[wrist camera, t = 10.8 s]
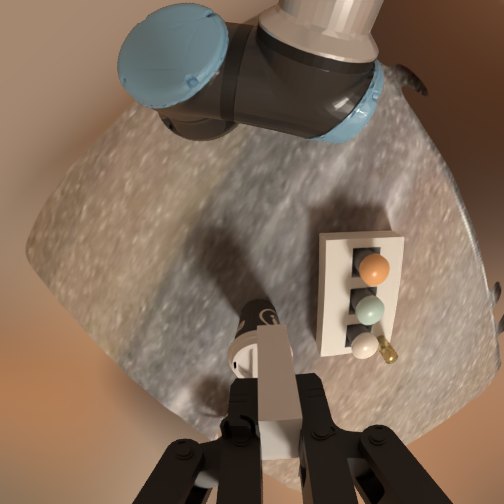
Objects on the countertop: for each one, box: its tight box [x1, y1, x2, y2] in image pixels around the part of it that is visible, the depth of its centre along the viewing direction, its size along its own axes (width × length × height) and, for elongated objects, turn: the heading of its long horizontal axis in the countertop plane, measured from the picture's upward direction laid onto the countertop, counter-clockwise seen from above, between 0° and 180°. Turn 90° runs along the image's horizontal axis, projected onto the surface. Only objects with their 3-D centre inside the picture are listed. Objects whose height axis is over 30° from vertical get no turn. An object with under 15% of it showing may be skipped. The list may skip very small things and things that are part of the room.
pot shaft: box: [377, 335, 398, 364], centre depth 46 cm, size 2×2×6 cm
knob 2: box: [350, 287, 385, 325], centre depth 47 cm, size 5×5×9 cm
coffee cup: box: [228, 300, 293, 378], centre depth 46 cm, size 10×10×15 cm
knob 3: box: [346, 323, 379, 359], centre depth 49 cm, size 5×5×9 cm
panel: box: [316, 230, 404, 357], centre depth 49 cm, size 22×14×5 cm, turn 3°
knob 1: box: [352, 248, 390, 286], centre depth 45 cm, size 5×5×9 cm
